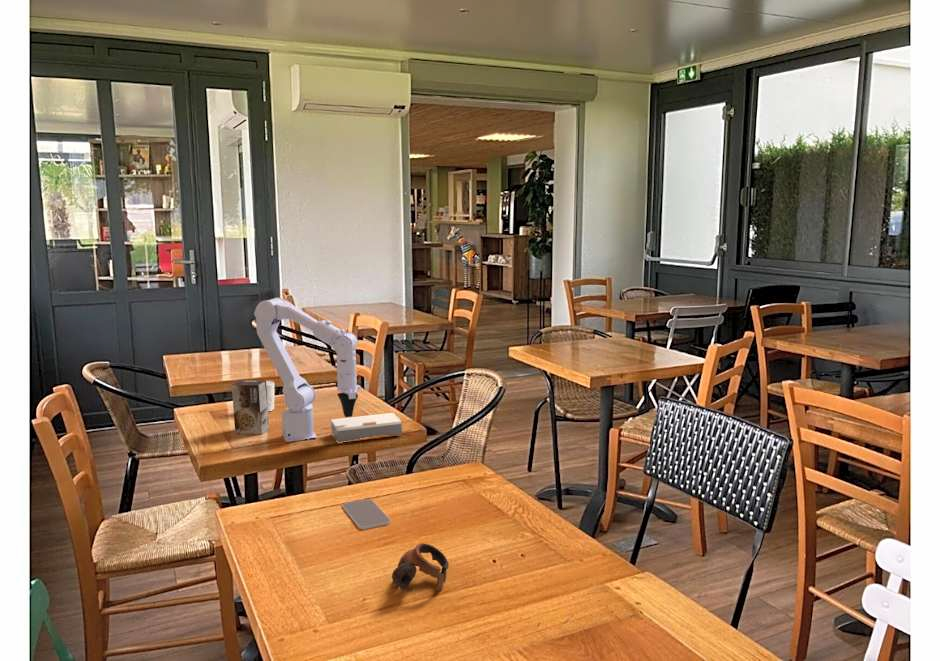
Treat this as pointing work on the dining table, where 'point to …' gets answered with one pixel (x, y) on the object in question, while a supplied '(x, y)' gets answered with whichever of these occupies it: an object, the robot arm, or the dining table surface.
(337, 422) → the duct lid
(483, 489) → the dining table surface
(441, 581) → the brown looped part
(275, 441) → the dining table surface
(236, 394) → the coffee box
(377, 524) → the smartphone
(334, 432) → the cable duct
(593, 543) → the dining table surface
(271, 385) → the white cup
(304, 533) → the dining table surface
